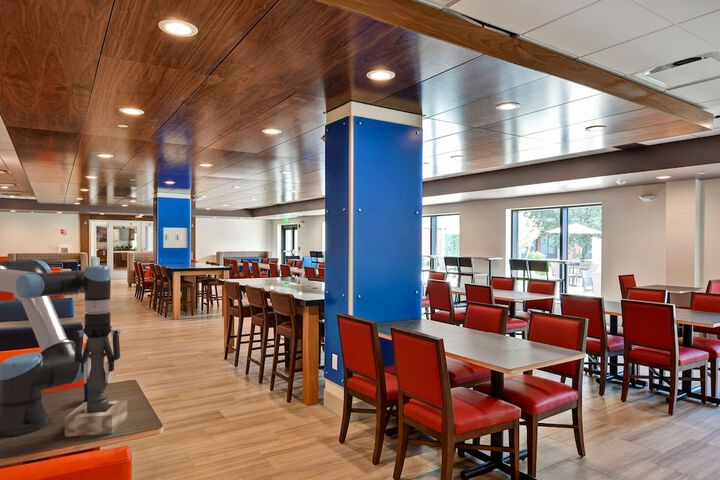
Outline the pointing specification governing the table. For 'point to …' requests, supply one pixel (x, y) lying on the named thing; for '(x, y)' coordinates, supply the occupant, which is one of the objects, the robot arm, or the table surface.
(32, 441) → the table surface
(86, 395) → the flask
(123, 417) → the socket block
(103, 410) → the candle holder
